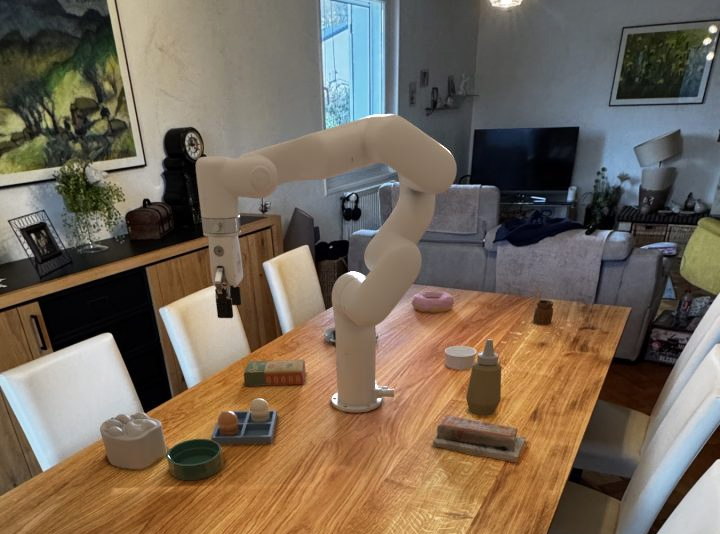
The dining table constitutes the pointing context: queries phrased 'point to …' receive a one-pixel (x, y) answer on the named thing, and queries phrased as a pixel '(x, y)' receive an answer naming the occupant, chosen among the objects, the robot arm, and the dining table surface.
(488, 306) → the dining table surface
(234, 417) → the brown egg
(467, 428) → the packaged product
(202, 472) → the bowl
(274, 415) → the egg tray
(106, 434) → the lumpy-topped squat cylinder
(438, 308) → the donut
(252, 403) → the cream egg
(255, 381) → the carton
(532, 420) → the dining table surface
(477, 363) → the squeeze bottle
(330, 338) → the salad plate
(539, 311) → the utensil holder
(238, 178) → the robot arm
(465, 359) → the ramekin
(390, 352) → the dining table surface
